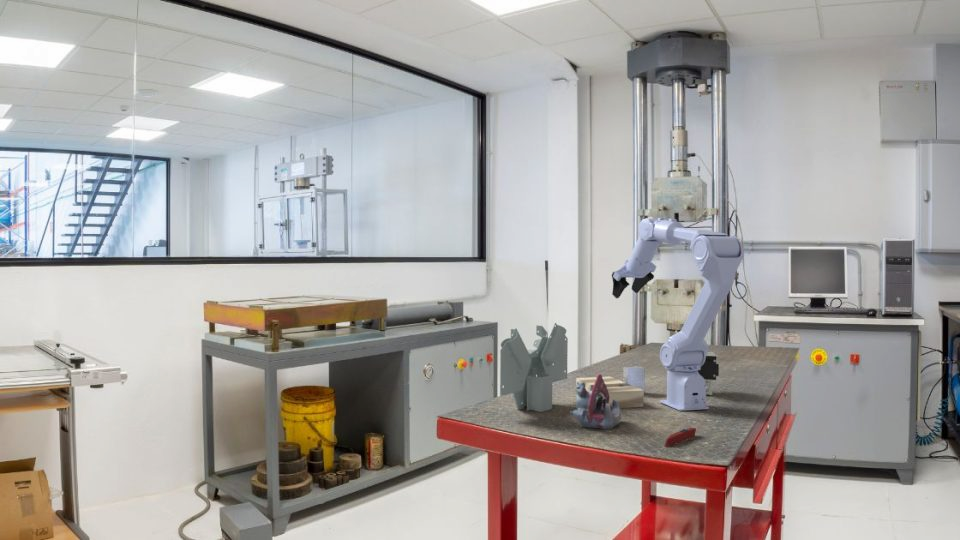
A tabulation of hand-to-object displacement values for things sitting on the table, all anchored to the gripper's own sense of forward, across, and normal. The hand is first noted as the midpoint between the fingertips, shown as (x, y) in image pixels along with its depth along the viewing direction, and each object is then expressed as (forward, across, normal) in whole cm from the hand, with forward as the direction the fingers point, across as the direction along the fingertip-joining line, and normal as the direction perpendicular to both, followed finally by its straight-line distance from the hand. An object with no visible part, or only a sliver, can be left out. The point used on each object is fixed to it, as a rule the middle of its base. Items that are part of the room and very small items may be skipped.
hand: (624, 293), depth 176 cm
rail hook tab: (+14, +11, +23) cm, 29 cm away
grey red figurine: (-1, +40, +35) cm, 53 cm away
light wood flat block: (+11, +22, +24) cm, 34 cm away
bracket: (+9, +43, +20) cm, 48 cm away
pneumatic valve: (+10, -6, +33) cm, 35 cm away
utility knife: (-11, +34, +50) cm, 61 cm away
